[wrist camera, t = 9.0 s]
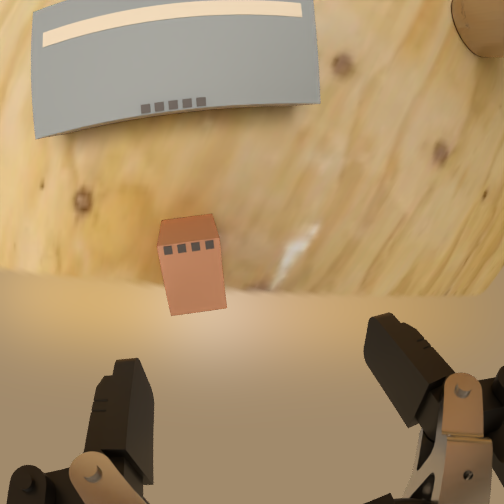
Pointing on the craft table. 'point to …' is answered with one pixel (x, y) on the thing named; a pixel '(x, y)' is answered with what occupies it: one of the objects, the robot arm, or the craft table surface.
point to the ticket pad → (168, 59)
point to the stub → (191, 264)
